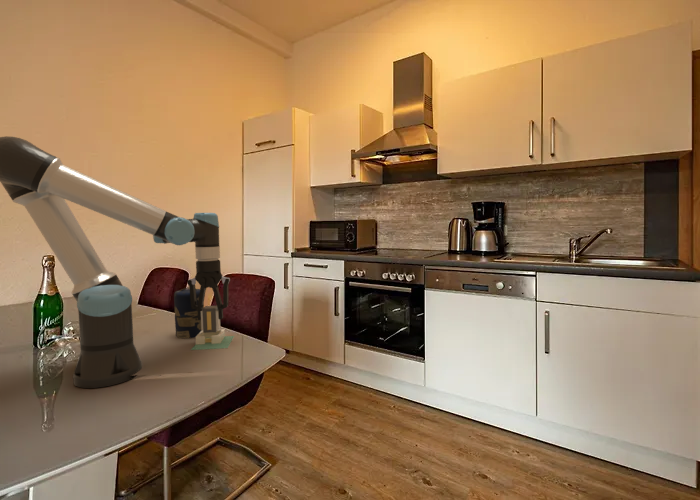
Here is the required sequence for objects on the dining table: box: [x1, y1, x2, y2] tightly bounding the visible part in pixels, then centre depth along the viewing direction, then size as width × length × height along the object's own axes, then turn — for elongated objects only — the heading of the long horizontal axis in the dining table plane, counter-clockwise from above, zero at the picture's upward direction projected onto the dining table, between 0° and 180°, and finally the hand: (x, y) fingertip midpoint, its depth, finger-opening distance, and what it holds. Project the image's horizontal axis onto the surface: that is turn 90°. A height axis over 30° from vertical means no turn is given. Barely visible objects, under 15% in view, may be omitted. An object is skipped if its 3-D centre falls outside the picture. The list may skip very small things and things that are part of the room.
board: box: [190, 335, 235, 351], centre depth 121 cm, size 13×11×1 cm
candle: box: [173, 286, 205, 339], centre depth 130 cm, size 10×10×18 cm
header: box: [195, 328, 226, 345], centre depth 123 cm, size 8×8×2 cm
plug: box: [202, 305, 218, 333], centre depth 123 cm, size 4×4×8 cm
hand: (211, 329), depth 123 cm, fingers closed on plug, 4 cm apart
